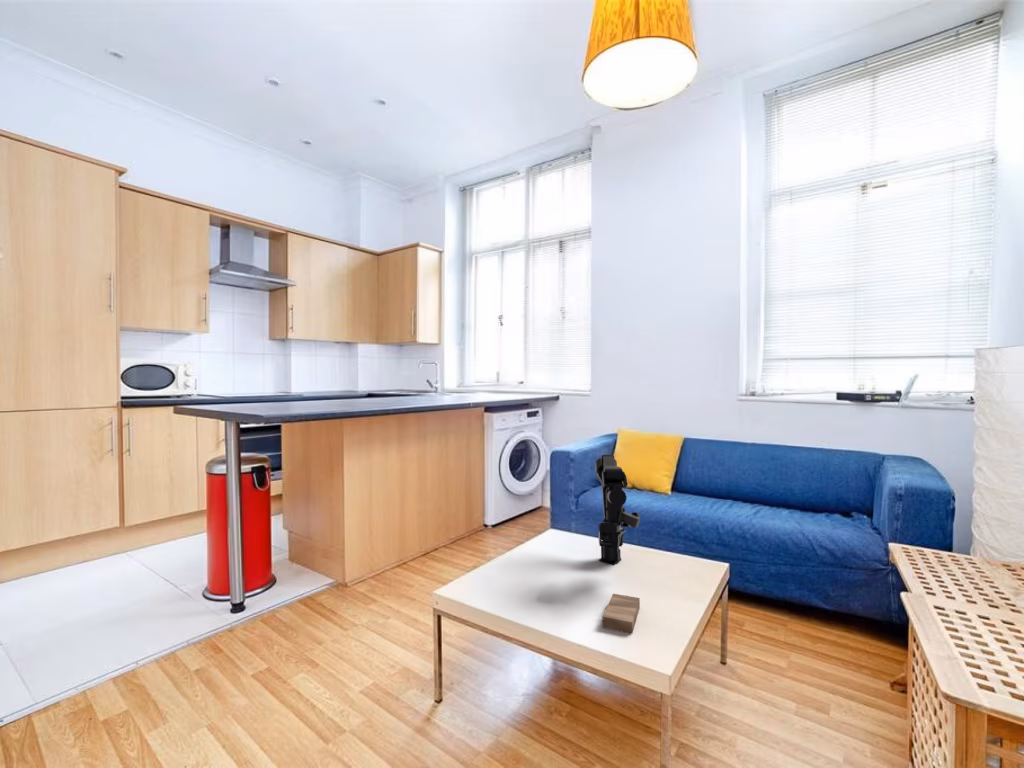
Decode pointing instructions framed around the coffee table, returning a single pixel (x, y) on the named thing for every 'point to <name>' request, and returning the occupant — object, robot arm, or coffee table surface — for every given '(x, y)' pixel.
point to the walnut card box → (621, 613)
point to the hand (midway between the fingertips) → (616, 551)
